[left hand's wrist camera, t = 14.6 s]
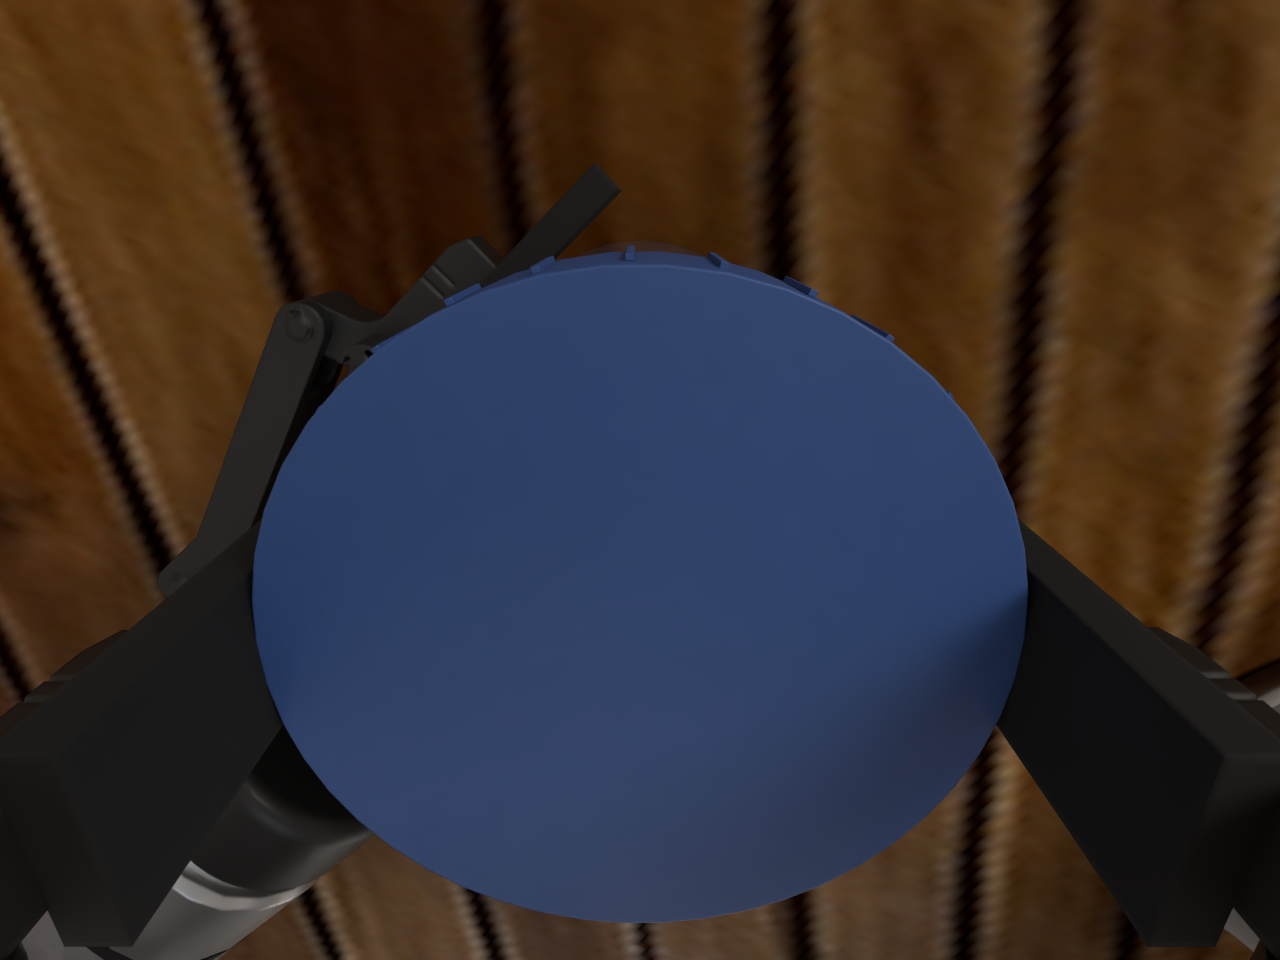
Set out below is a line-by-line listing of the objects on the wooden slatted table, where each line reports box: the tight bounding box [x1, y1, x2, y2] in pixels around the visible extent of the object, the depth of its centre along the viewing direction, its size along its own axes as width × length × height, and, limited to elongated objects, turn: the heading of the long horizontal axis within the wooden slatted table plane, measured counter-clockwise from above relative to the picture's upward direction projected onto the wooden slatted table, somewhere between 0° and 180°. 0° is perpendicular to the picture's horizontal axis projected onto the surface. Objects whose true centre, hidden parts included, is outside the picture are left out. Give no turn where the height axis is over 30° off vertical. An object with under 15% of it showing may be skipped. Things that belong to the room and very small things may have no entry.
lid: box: [252, 246, 1028, 923], centre depth 11 cm, size 11×12×2 cm
